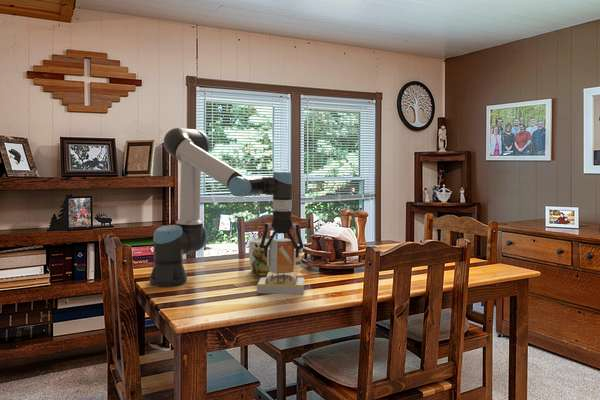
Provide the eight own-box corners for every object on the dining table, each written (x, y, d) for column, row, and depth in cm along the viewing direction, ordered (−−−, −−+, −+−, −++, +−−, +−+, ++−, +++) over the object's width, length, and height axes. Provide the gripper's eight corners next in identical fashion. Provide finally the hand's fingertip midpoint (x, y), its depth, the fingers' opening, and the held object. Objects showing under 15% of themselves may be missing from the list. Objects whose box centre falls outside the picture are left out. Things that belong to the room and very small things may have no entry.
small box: (276, 274, 196) (277, 241, 195) (268, 271, 201) (269, 239, 200) (294, 272, 200) (294, 240, 199) (285, 269, 206) (286, 238, 204)
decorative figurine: (248, 275, 223) (248, 242, 222) (263, 273, 229) (263, 241, 228) (260, 280, 216) (261, 245, 215) (276, 277, 221) (276, 243, 220)
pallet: (265, 285, 195) (265, 278, 195) (267, 277, 207) (268, 272, 207) (295, 285, 195) (295, 279, 195) (296, 278, 207) (296, 272, 207)
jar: (245, 273, 229) (245, 240, 228) (252, 268, 239) (253, 237, 238) (267, 274, 226) (267, 242, 225) (274, 269, 236) (274, 238, 235)
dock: (257, 293, 194) (257, 284, 194) (260, 284, 208) (261, 275, 208) (303, 294, 194) (303, 285, 194) (304, 285, 208) (304, 276, 208)
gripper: (252, 210, 195) (252, 266, 197) (310, 211, 195) (309, 267, 196) (255, 208, 203) (254, 262, 205) (310, 209, 202) (309, 263, 204)
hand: (281, 265), depth 200 cm, fingers closed on small box, 10 cm apart
